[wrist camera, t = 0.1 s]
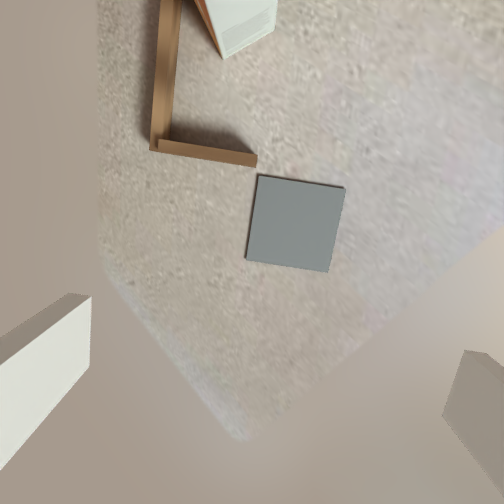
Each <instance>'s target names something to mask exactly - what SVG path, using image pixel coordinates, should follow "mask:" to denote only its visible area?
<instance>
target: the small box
mask: <svg viewBox="0 0 504 504" xmlns="http://www.w3.org/2000/svg"><path fill="white" fill-rule="evenodd" d="M194 1H195V3H196V5H197V7H198V9H199V12H200V14H201V16H202V18H203V20H204V22H205V24H206V26H207V28H208V30H209V32H210V34H211V36H212V38H213V40H214V42H215V45H216V47H217V49H218V51H219V53H220V55H221V58H222V59H223V60H225V59H226V58H228V57H230V56H231V55H233V54H235V53H236V52H238V51H240V50H241V49H243V48H245V47H246V46H248V45H250V44H252V43H253V42H255V41H257V40H259V39H260V38H262V37H264V36H265V35H267V34H269V33H271V32H272V31H274V30H275V22H276V13H277V5H278V0H194Z"/></svg>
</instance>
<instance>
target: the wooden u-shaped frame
mask: <svg viewBox="0 0 504 504" xmlns="http://www.w3.org/2000/svg"><path fill="white" fill-rule="evenodd" d="M181 7H182V0H161V2H160V15H159V28H158V41H157V54H156V67H155V80H154V93H153V106H152V119H151V133H150V146H149V150H151V151H155V152H161V153H167V154H173V155H179V156H186V157H192V158H198V159H205V160H211V161H217V162H223V163H230V164H236V165H242V166H249V167H255V168H256V164H257V157H258V155H256V154H250V153H244V152H237V151H231V150H225V149H219V148H212V147H206V146H200V145H194V144H187V143H181V142H175V141H170V130H171V119H172V107H173V96H174V85H175V74H176V63H177V52H178V41H179V30H180V19H181Z"/></svg>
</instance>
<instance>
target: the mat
mask: <svg viewBox="0 0 504 504" xmlns="http://www.w3.org/2000/svg"><path fill="white" fill-rule="evenodd" d="M345 193H346V189H341V188H335V187H328V186H322V185H316V184H309V183H303V182H297V181H290V180H284V179H278V178H272V177H265V176H259V180H258V186H257V193H256V199H255V205H254V212H253V218H252V225H251V231H250V238H249V244H248V251H247V257H246V260H248V261H255V262H261V263H268V264H274V265H281V266H287V267H294V268H300V269H307V270H313V271H320V272H327V273H328V270H329V266H330V261H331V257H332V252H333V248H334V243H335V238H336V234H337V229H338V225H339V220H340V216H341V211H342V206H343V202H344V197H345Z"/></svg>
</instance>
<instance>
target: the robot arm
mask: <svg viewBox="0 0 504 504" xmlns="http://www.w3.org/2000/svg"><path fill="white" fill-rule="evenodd" d="M90 327H91V296H87V295H81V294H73V293H68V294H67V295H65V296H64V297H62V298H60V299H59V300H57V301H56V302H54V303H53V304H51V305H50V306H48V307H47V308H45V309H44V310H42V311H40V312H39V313H37V314H36V315H34V316H33V317H31V318H30V319H28V320H27V321H25V322H24V323H22V324H21V325H19V326H17V327H16V328H14V329H13V330H11V331H10V332H8V333H7V334H5V335H4V336H2V337H1V338H0V470H1V469H2V468H3V467H4V466H5V464H6V463H7V462H8V461H9V460H10V458H11V457H12V456H13V455H14V454H15V453H16V452H17V450H18V449H19V448H20V447H21V446H22V444H23V443H24V442H25V441H26V440H27V439H28V437H29V436H30V435H31V434H32V433H33V432H34V430H35V429H36V428H37V427H38V426H39V425H40V424H41V422H42V421H43V420H44V419H45V418H46V416H47V415H48V414H49V413H50V412H51V411H52V409H53V408H54V407H55V406H56V405H57V404H58V402H59V401H60V400H61V399H62V398H63V396H64V395H65V394H66V393H67V392H68V391H69V390H70V388H71V387H72V386H73V385H74V384H75V382H76V381H77V380H78V379H79V378H80V377H81V376H82V374H83V373H84V372H85V370H86V369H87V368H88V367H89V357H90ZM442 416H443V418H444V419H445V420H446V422H447V423H448V424H449V426H450V427H451V428H452V430H453V431H454V432H455V433H456V435H457V436H458V437H459V439H460V440H461V441H462V443H463V444H464V445H465V447H466V448H467V449H468V451H469V452H470V453H471V455H472V456H473V457H474V459H475V460H476V461H477V462H478V464H479V465H480V466H481V468H482V469H483V470H484V472H485V473H486V474H487V476H488V477H489V478H490V480H491V481H492V482H493V484H494V485H495V486H496V487H497V489H498V490H499V491H500V493H501V494H502V495H503V497H504V367H503V366H501V365H500V364H499V363H498V362H496V361H495V360H494V359H493V358H491V357H490V356H489V355H488V354H486V353H482V352H474V351H467V350H464V353H463V356H462V359H461V362H460V366H459V368H458V371H457V374H456V376H455V379H454V382H453V385H452V388H451V391H450V394H449V397H448V400H447V403H446V405H445V409H444V411H443V414H442Z"/></svg>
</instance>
